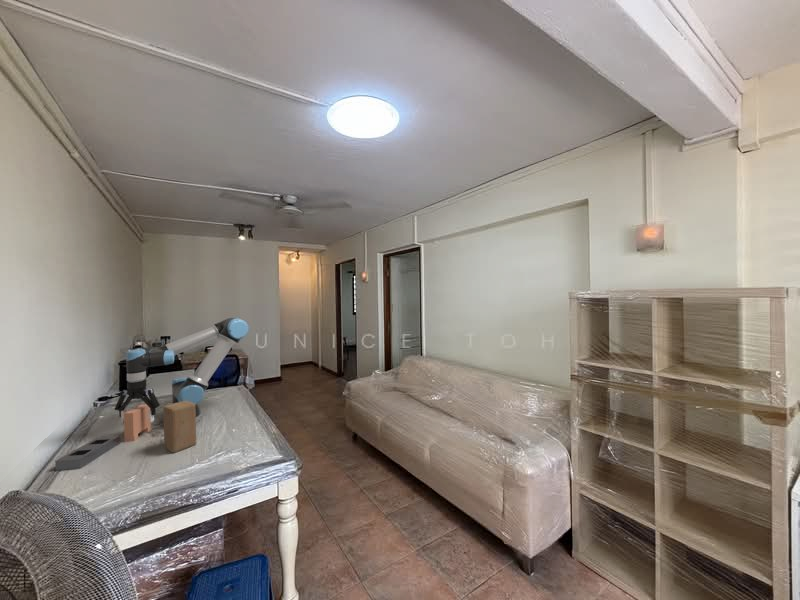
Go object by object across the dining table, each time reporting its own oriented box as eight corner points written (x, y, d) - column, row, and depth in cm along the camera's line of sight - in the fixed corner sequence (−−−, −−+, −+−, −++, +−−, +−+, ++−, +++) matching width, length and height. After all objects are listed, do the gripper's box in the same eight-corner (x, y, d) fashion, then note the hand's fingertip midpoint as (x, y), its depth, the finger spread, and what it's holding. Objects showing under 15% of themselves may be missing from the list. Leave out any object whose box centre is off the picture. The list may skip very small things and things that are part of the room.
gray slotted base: (120, 443, 151) (119, 435, 151) (80, 468, 130) (80, 459, 130) (99, 444, 150) (98, 436, 150) (55, 470, 128) (55, 460, 128)
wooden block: (173, 453, 141) (172, 409, 140) (163, 448, 146) (162, 405, 146) (197, 444, 149) (196, 403, 149) (187, 439, 155) (186, 399, 154)
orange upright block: (151, 429, 166) (150, 403, 166) (134, 441, 154) (133, 413, 153) (142, 430, 166) (141, 404, 166) (124, 441, 153) (123, 413, 153)
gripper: (167, 377, 165) (168, 417, 165) (115, 379, 161) (117, 420, 162) (158, 381, 157) (159, 423, 158) (104, 383, 154) (105, 427, 154)
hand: (137, 422), depth 160 cm, fingers open, 12 cm apart
